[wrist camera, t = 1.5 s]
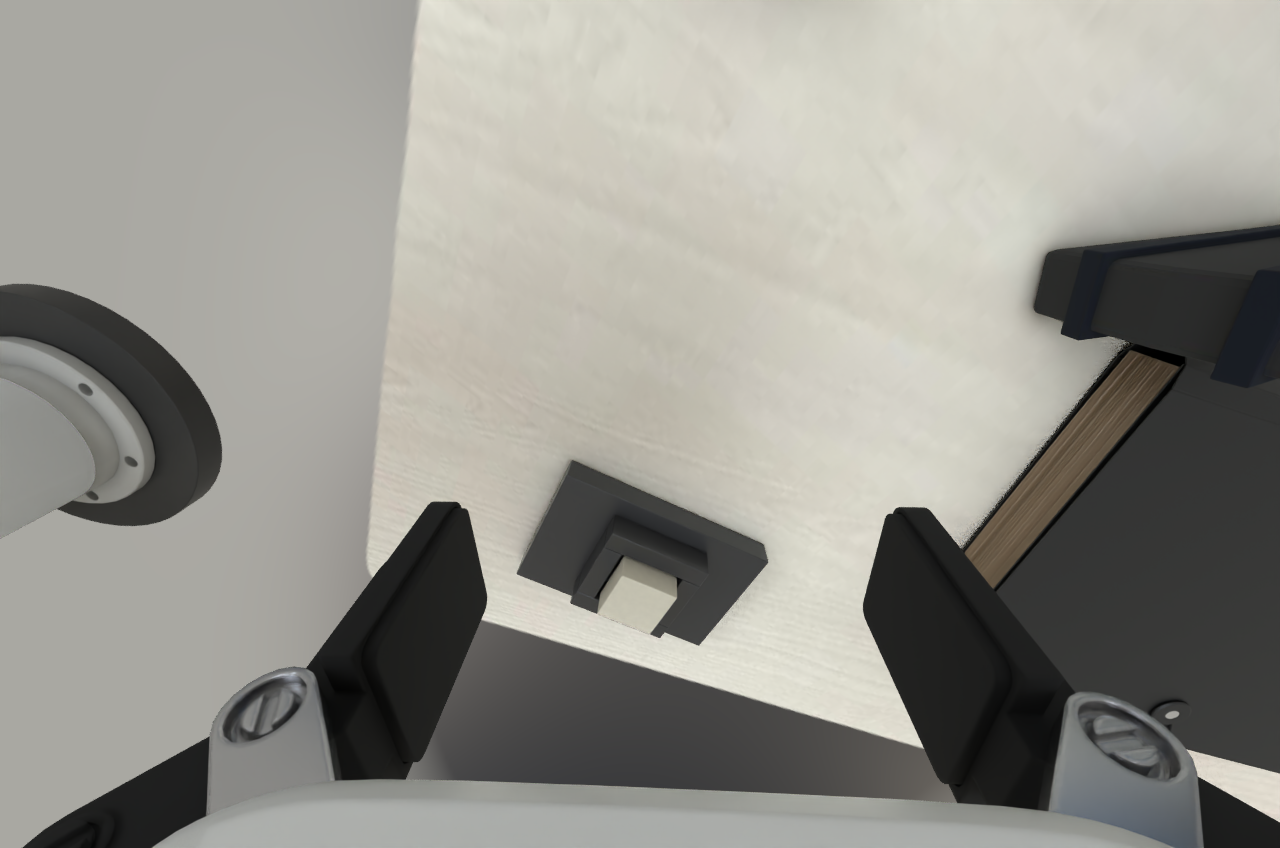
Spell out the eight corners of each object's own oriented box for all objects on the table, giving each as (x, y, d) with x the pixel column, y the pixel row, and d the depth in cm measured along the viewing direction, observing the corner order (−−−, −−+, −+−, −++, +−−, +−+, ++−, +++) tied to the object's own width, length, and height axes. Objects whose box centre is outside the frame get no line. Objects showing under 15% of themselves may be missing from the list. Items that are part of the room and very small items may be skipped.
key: (600, 592, 31) (596, 614, 29) (624, 554, 29) (622, 575, 28) (650, 612, 31) (649, 635, 30) (676, 576, 30) (677, 598, 28)
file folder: (918, 686, 31) (1217, 347, 21) (892, 634, 35) (1134, 323, 25) (1337, 794, 34) (1782, 543, 24) (1272, 735, 38) (1633, 495, 28)
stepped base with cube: (523, 556, 34) (508, 595, 31) (571, 459, 30) (560, 492, 27) (697, 626, 36) (700, 668, 33) (764, 544, 32) (774, 583, 29)
